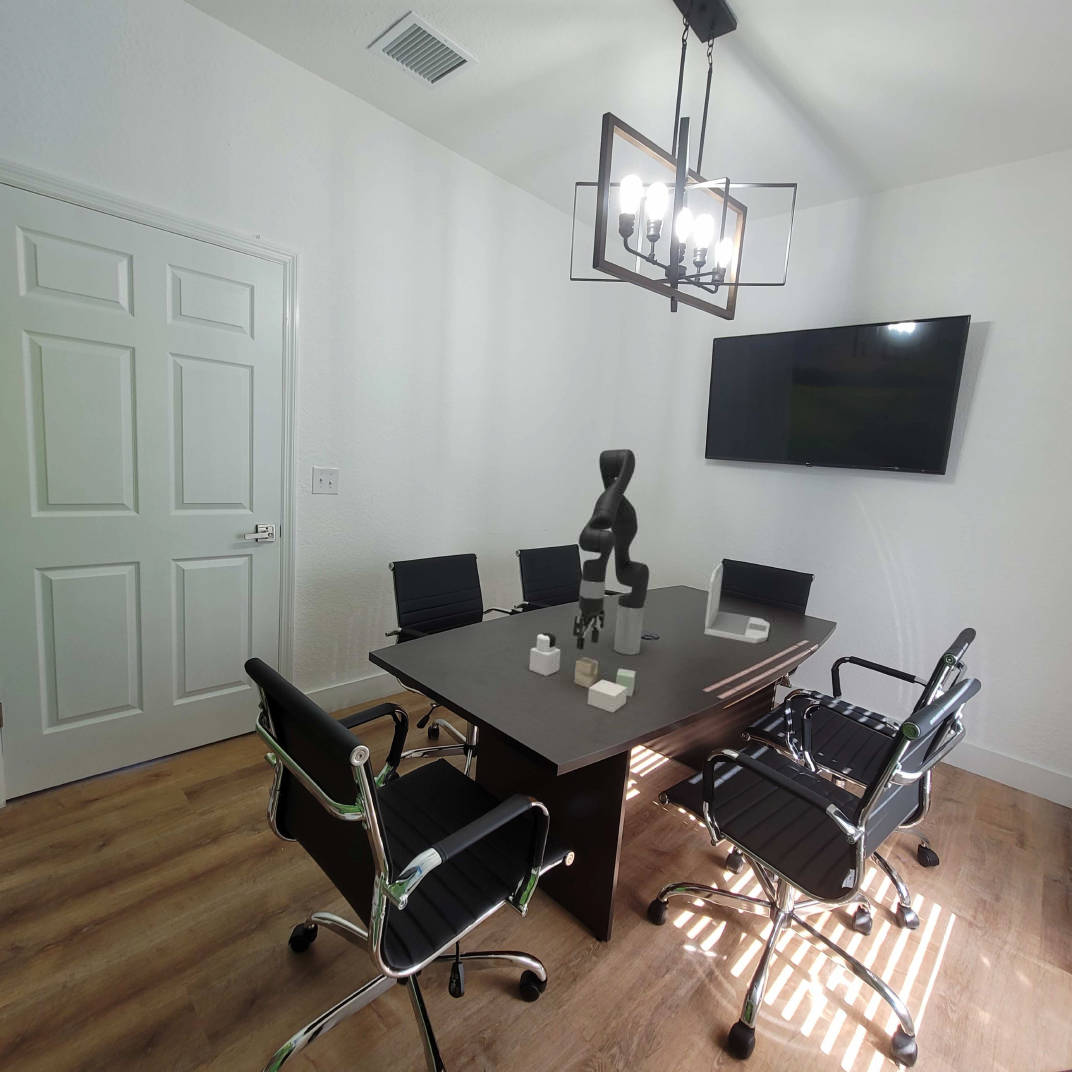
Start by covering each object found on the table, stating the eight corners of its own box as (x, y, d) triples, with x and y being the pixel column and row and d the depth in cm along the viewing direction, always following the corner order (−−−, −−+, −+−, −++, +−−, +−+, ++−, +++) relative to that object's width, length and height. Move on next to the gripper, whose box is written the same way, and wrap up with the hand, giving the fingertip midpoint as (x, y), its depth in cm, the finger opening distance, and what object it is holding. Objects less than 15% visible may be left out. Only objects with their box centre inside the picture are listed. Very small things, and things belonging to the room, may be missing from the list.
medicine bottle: (542, 664, 182) (544, 629, 180) (559, 670, 178) (562, 635, 176) (528, 669, 177) (531, 634, 175) (545, 676, 172) (548, 640, 170)
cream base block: (601, 695, 161) (602, 679, 161) (625, 703, 157) (627, 687, 156) (587, 704, 155) (589, 687, 154) (612, 713, 150) (614, 696, 150)
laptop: (766, 646, 217) (774, 581, 213) (703, 634, 227) (710, 572, 224) (769, 625, 247) (777, 568, 243) (714, 615, 257) (720, 560, 254)
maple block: (582, 678, 173) (584, 657, 172) (596, 682, 170) (598, 661, 169) (574, 682, 169) (575, 661, 168) (588, 687, 166) (589, 665, 165)
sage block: (617, 687, 168) (619, 668, 167) (633, 689, 166) (635, 671, 166) (615, 693, 163) (616, 674, 162) (631, 696, 162) (633, 677, 161)
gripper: (593, 588, 173) (588, 637, 175) (568, 595, 162) (564, 647, 164) (614, 593, 169) (609, 643, 171) (590, 600, 157) (585, 654, 160)
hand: (587, 645), depth 168 cm, fingers open, 8 cm apart
